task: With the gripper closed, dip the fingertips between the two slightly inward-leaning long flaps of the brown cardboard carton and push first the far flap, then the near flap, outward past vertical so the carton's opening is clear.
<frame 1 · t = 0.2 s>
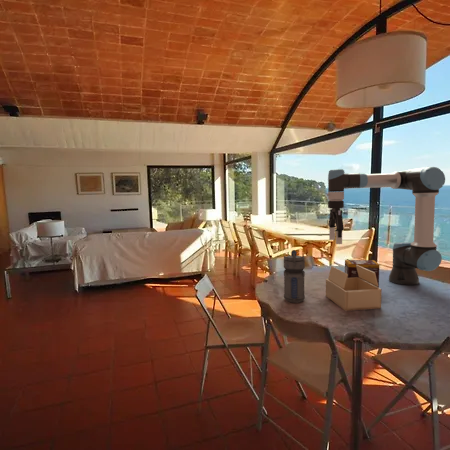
hand: (335, 241, 153), 28 cm above the table, fingers open, 13 cm apart
flap far: (337, 276, 143), point 13 cm above the table, hinge at -15.0°
beverage bottle: (294, 299, 151), on the table
flap near: (366, 274, 145), point 13 cm above the table, hinge at -15.0°
carton: (351, 301, 145), on the table
supplement box: (361, 290, 162), on the table
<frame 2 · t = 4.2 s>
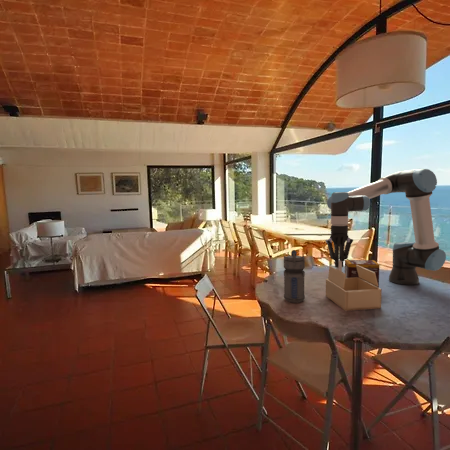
hand: (338, 273, 143), 14 cm above the table, fingers closed
flap far: (336, 276, 143), point 13 cm above the table, hinge at -7.0°, touching gripper
everything else where it was.
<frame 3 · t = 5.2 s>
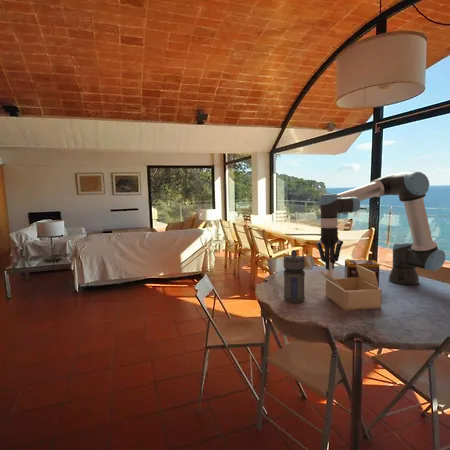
hand: (329, 275, 143), 14 cm above the table, fingers closed
flap far: (330, 278, 143), point 12 cm above the table, hinge at 43.9°, touching gripper
everything else where it was.
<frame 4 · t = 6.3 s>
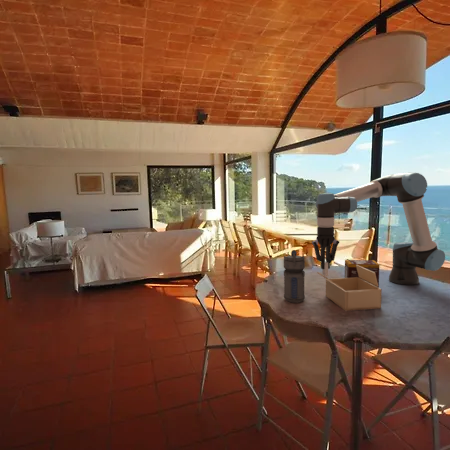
hand: (325, 275, 142), 14 cm above the table, fingers closed
flap far: (329, 280, 143), point 12 cm above the table, hinge at 55.0°, touching gripper
everything else where it was.
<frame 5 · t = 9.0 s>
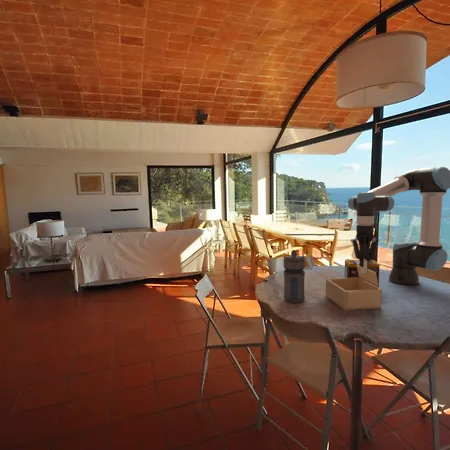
hand: (363, 273, 144), 14 cm above the table, fingers closed
flap far: (329, 280, 143), point 12 cm above the table, hinge at 55.1°
flap near: (366, 274, 145), point 13 cm above the table, hinge at -12.3°, touching gripper
everything else where it was.
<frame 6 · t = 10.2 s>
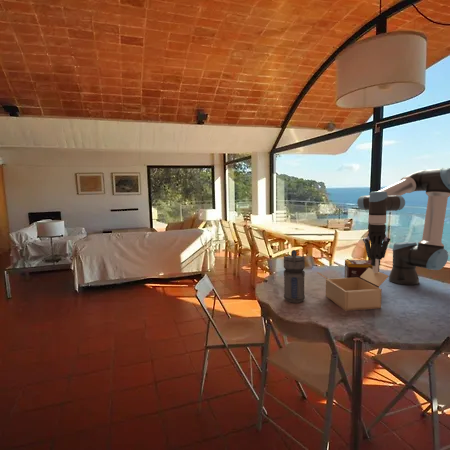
hand: (375, 272, 145), 14 cm above the table, fingers closed
flap near: (373, 276, 145), point 12 cm above the table, hinge at 45.4°, touching gripper
everything else where it was.
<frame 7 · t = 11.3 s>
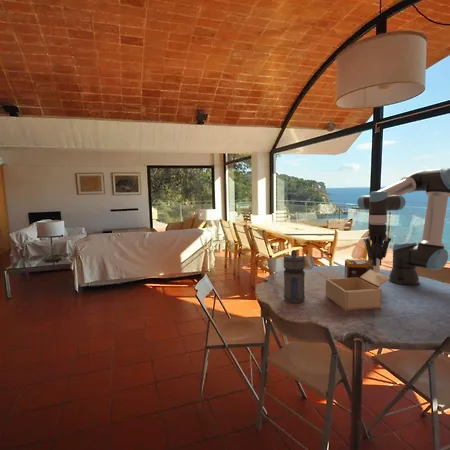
hand: (376, 272, 145), 14 cm above the table, fingers closed
flap near: (374, 277, 145), point 11 cm above the table, hinge at 56.5°
everything else where it was.
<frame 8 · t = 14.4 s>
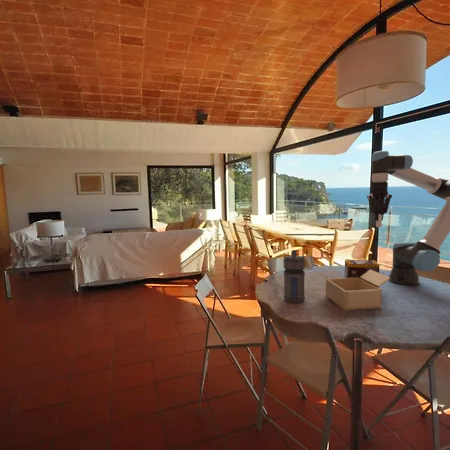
hand: (378, 226, 158), 34 cm above the table, fingers closed
nothing on the table moved.
at the end: flap far at +55° (first picture: -15°); flap near at +57° (first picture: -15°) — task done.
